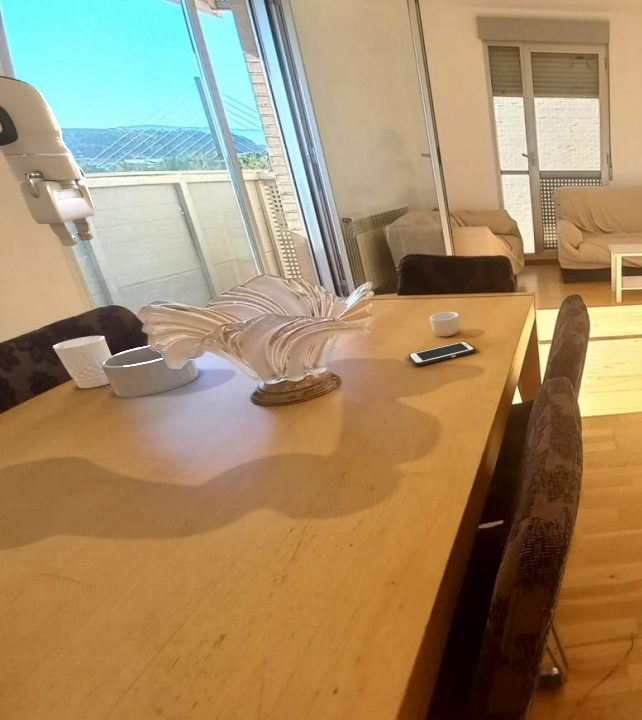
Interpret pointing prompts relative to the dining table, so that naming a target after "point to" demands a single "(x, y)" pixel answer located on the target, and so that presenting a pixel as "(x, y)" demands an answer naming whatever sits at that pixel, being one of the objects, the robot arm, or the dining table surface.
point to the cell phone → (441, 353)
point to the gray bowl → (144, 373)
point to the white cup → (85, 360)
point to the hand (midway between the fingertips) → (79, 242)
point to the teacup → (445, 323)
